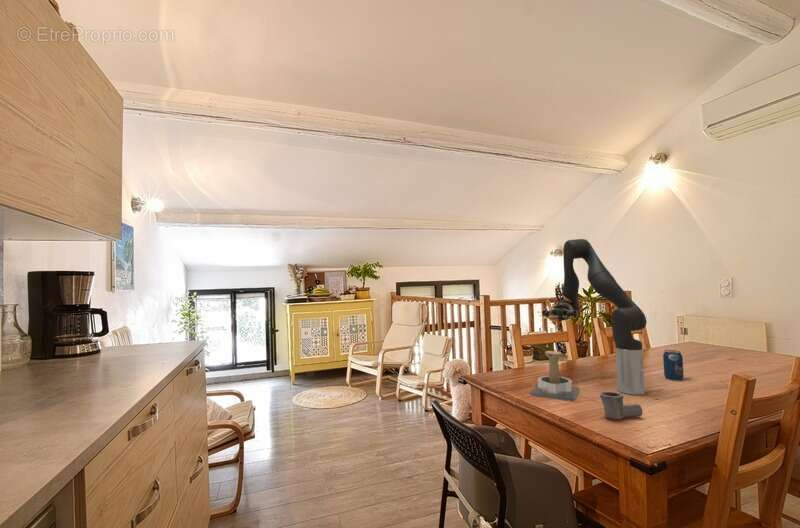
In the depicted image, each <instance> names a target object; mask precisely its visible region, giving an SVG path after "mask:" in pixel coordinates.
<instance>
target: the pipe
mask: <svg viewBox="0 0 800 528" xmlns="http://www.w3.org/2000/svg"><path fill="white" fill-rule="evenodd" d="M598 396H599V397H600V400H601V402H602V406H603V410H604V411H603V412H604V417H605V418H606V419H608V420H614V421H616V420H617V421H619V420H622V419H623V418H624V419H625V418H634V417H636V418H637V417H641V416H642V415H643V408H642V405H640V404H638V403H635V404H627V405H625V404H624V394H623V393H621V392H615V391H602V392H600V393H599V394H598Z"/></svg>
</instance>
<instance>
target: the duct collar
mask: <svg viewBox="0 0 800 528" xmlns="http://www.w3.org/2000/svg"><path fill="white" fill-rule="evenodd" d="M578 391H580V386H573V380H571V379H570V378H569V377H568V378H567V377H565V376H560V384H555V383H550V380H549V375H543V376H539V377H538V378H537V384H536V385H535V386H534V387H533V389H531V391H530V393H529V395H530V396H531V395H533V397H534V396H535V397H539V396H540V398H546V397H547V398H548V399H552V400H553V399H554V400H555V399H556V400H561V399H563V400H562V401H568V400H570V402H575V401H574V400H576V398H577V396H578V394H579V392H578ZM547 398H546V399H547Z"/></svg>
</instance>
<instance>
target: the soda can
mask: <svg viewBox="0 0 800 528" xmlns="http://www.w3.org/2000/svg"><path fill="white" fill-rule="evenodd" d="M662 358H663V359H662V360H663V375H664V377H665V379H667V380H669V379H670V381H676V380H680V381H682V380H683V379H684V376H685V375H684V359H683V355H682V353H681V351H680V350H674V349H667V350H666V349H665V350H664V352H663V355H662Z"/></svg>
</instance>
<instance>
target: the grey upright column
mask: <svg viewBox="0 0 800 528" xmlns="http://www.w3.org/2000/svg"><path fill="white" fill-rule="evenodd" d="M544 355H545V356H546V357H547V358H548V361H549V364H548V365H549V367H548V368H549V369H548V374H549V375H548V376H549V380H550V383H555V384H560V377H561V376H560V366H559V358H560V359H561V357H562V356H563V353H562V352H561V351H556V350H555V351H554V350H547V351H545V352H544Z"/></svg>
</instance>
